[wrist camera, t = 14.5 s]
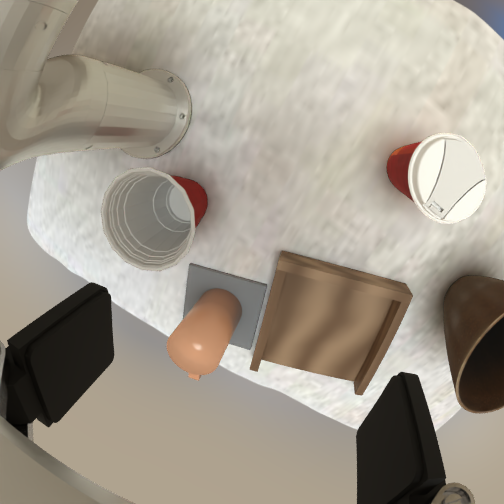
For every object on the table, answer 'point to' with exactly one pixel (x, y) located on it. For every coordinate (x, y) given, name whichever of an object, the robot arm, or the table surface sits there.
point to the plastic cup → (152, 217)
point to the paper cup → (440, 176)
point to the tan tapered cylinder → (205, 333)
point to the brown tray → (329, 319)
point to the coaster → (241, 288)
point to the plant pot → (476, 341)
